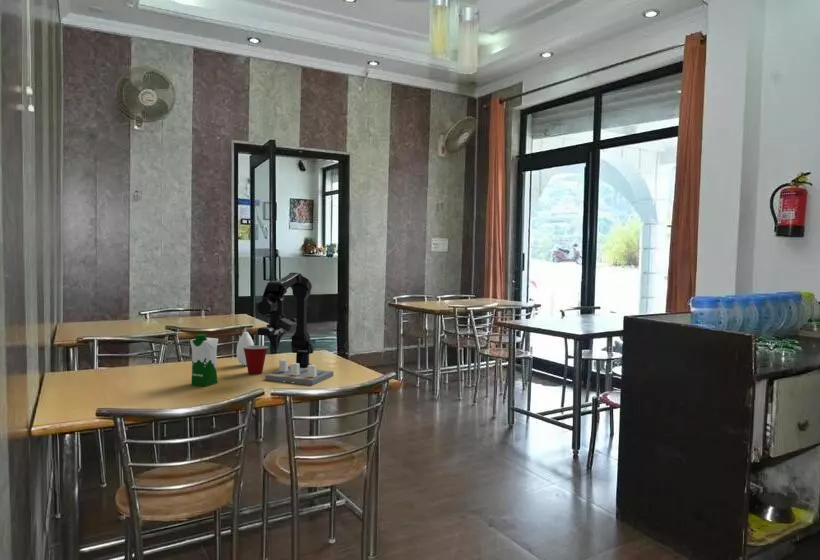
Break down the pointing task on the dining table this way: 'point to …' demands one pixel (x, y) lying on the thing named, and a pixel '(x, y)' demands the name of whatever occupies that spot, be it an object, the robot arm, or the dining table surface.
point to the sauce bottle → (243, 341)
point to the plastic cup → (255, 358)
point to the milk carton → (204, 360)
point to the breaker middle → (295, 369)
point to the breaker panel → (299, 376)
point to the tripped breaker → (283, 365)
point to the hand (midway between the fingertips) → (275, 349)
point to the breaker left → (312, 371)
